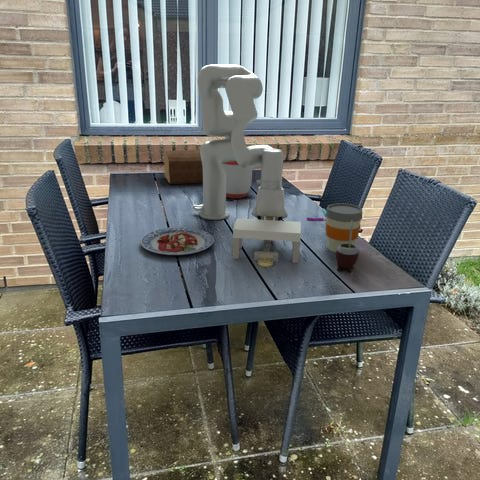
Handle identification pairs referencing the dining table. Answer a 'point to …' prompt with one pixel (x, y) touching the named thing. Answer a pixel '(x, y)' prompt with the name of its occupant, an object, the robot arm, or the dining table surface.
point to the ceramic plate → (177, 241)
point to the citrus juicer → (237, 179)
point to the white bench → (266, 233)
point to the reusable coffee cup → (342, 224)
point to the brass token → (265, 262)
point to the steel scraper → (266, 249)
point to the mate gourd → (346, 255)
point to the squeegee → (318, 218)
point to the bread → (183, 166)
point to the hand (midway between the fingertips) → (268, 232)
